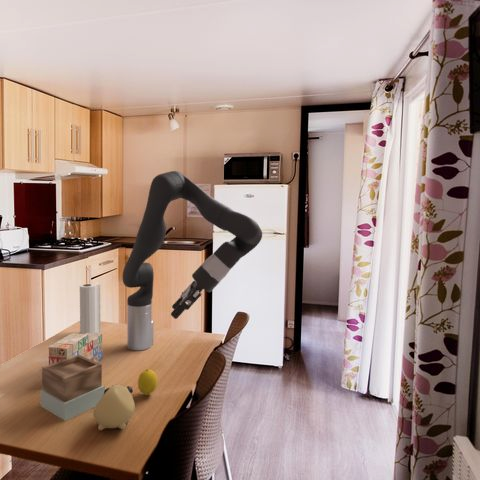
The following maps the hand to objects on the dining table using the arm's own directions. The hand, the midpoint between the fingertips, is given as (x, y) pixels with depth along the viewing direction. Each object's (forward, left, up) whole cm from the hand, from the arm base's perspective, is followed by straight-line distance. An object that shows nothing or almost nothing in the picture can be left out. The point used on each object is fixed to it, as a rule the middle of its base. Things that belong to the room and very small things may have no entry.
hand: (173, 312), depth 111 cm
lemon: (+5, -5, -25) cm, 26 cm away
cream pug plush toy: (+20, 0, -25) cm, 32 cm away
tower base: (+21, -18, -25) cm, 38 cm away
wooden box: (+21, -18, -20) cm, 34 cm away
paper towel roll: (-15, -63, -25) cm, 69 cm away
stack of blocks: (+8, -36, -25) cm, 45 cm away
